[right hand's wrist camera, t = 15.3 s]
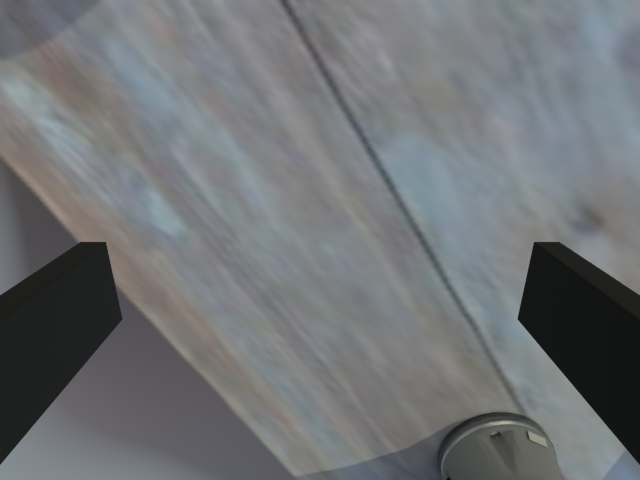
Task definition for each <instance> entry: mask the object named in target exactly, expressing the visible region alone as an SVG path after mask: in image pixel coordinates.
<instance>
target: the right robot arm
mask: <svg viewBox="0 0 640 480" xmlns="http://www.w3.org/2000/svg"><path fill="white" fill-rule="evenodd" d="M121 320H122V315H121V311H120V306H119V301H118V297H117V292H116V287H115V283H114V278H113V273H112V269H111V264H110V259H109V255H108V250H107V245H106V242H80V243H79V244H77V245H76V246H74V247H73V248H71V249H70V250H68V251H67V252H65V253H64V254H62V255H61V256H59V257H58V258H56V259H55V260H53V261H52V262H50V263H49V264H47V265H45V266H44V267H43V268H41V269H40V270H38V271H37V272H35V273H33V274H32V275H30V276H29V277H27V278H26V279H24V280H23V281H21V282H20V283H18V284H17V285H15V286H14V287H12V288H11V289H9V290H8V291H6V292H5V293H3V294H2V295H0V464H1V463H2V462H3V461H4V460H5V458H6V457H7V456H8V455H9V454H10V452H11V451H12V450H13V449H14V448H15V446H16V445H17V444H18V443H19V442H20V440H21V439H22V438H23V437H24V436H25V435H26V433H27V432H28V431H29V430H30V428H31V427H32V426H33V425H34V424H35V423H36V421H37V420H38V419H39V418H40V417H41V415H42V414H43V413H44V412H45V411H46V409H47V408H48V407H49V406H50V405H51V403H52V402H53V401H54V400H55V399H56V398H57V396H58V395H59V394H60V393H61V392H62V390H63V389H64V388H65V387H66V386H67V385H68V383H69V382H70V381H71V380H72V379H73V377H74V376H75V375H76V374H77V373H78V371H79V370H80V369H81V368H82V367H83V365H84V364H85V363H86V362H87V361H88V359H89V358H90V357H91V356H92V355H93V353H94V352H95V351H96V350H97V349H98V348H99V346H100V345H101V344H102V343H103V342H104V340H105V339H106V338H107V337H108V336H109V334H110V333H111V332H112V331H113V330H114V328H115V327H116V326H117V325H118V324H119V323H120V321H121ZM518 320H519V321H520V323H521V324H522V325H523V326H524V327H525V329H526V330H527V331H528V332H529V333H530V334H531V336H532V337H533V338H534V339H535V340H536V342H537V343H538V344H539V345H540V346H541V348H542V349H543V350H544V351H545V352H546V354H547V355H548V356H549V357H550V358H551V359H552V361H553V362H554V363H555V364H556V365H557V367H558V368H559V369H560V370H561V371H562V373H563V374H564V375H565V376H566V377H567V379H568V380H569V381H570V382H571V383H572V385H573V386H574V387H575V388H576V389H577V390H578V392H579V393H580V394H581V395H582V396H583V398H584V399H585V400H586V401H587V402H588V404H589V405H590V406H591V407H592V408H593V410H594V411H595V412H596V413H597V414H598V415H599V417H600V418H601V419H602V420H603V421H604V423H605V424H606V425H607V426H608V427H609V429H610V430H611V431H612V432H613V433H614V435H615V436H616V437H617V438H618V439H619V441H620V442H621V443H622V444H623V445H624V446H625V448H626V449H627V450H628V451H629V452H630V454H631V455H632V456H633V457H634V458H635V460H636V461H637V462H638V463H639V464H640V295H638V294H637V293H635V292H634V291H632V290H631V289H629V288H628V287H626V286H625V285H623V284H622V283H620V282H619V281H617V280H616V279H614V278H613V277H611V276H610V275H608V274H607V273H605V272H604V271H602V270H601V269H599V268H598V267H596V266H595V265H593V264H592V263H590V262H588V261H587V260H585V259H584V258H582V257H581V256H579V255H578V254H576V253H575V252H573V251H572V250H570V249H569V248H567V247H566V246H564V245H563V244H561V243H560V242H534V245H533V250H532V255H531V259H530V264H529V269H528V273H527V278H526V283H525V287H524V292H523V297H522V301H521V306H520V311H519V315H518ZM438 463H439V467H440V471H441V474H442V477H443V480H562V478H561V474H560V470H559V466H558V463H557V460H556V453H555V449H554V447H553V444H552V443H551V441H550V440H549V438H548V437H547V435H546V433H545V432H544V430H543V429H542V428H541V427H540V426H539V425H538V424H537V423H535V422H534V421H532V420H531V419H529V418H526V417H524V416H521V415H517V414H511V413H494V414H487V415H483V416H479V417H476V418H474V419H471V420H469V421H467V422H465V423H463V424H461V425H460V426H458V427H457V428H456V429H455V430H453V431H452V432H451V433H450V434H449V435H448V436H447V438H446V439H445V440H444V442H443V444H442V446H441V448H440V451H439V456H438Z"/></svg>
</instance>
